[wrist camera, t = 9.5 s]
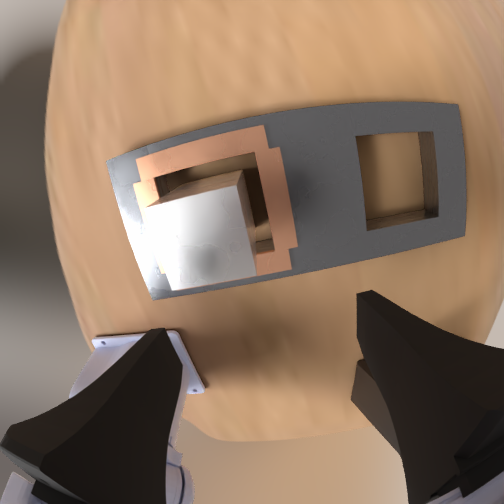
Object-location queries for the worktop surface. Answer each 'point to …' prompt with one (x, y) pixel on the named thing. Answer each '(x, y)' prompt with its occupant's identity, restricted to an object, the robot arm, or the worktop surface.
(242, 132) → the rail plate
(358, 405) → the phone stand
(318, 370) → the worktop surface
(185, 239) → the block
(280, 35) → the worktop surface
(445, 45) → the worktop surface
